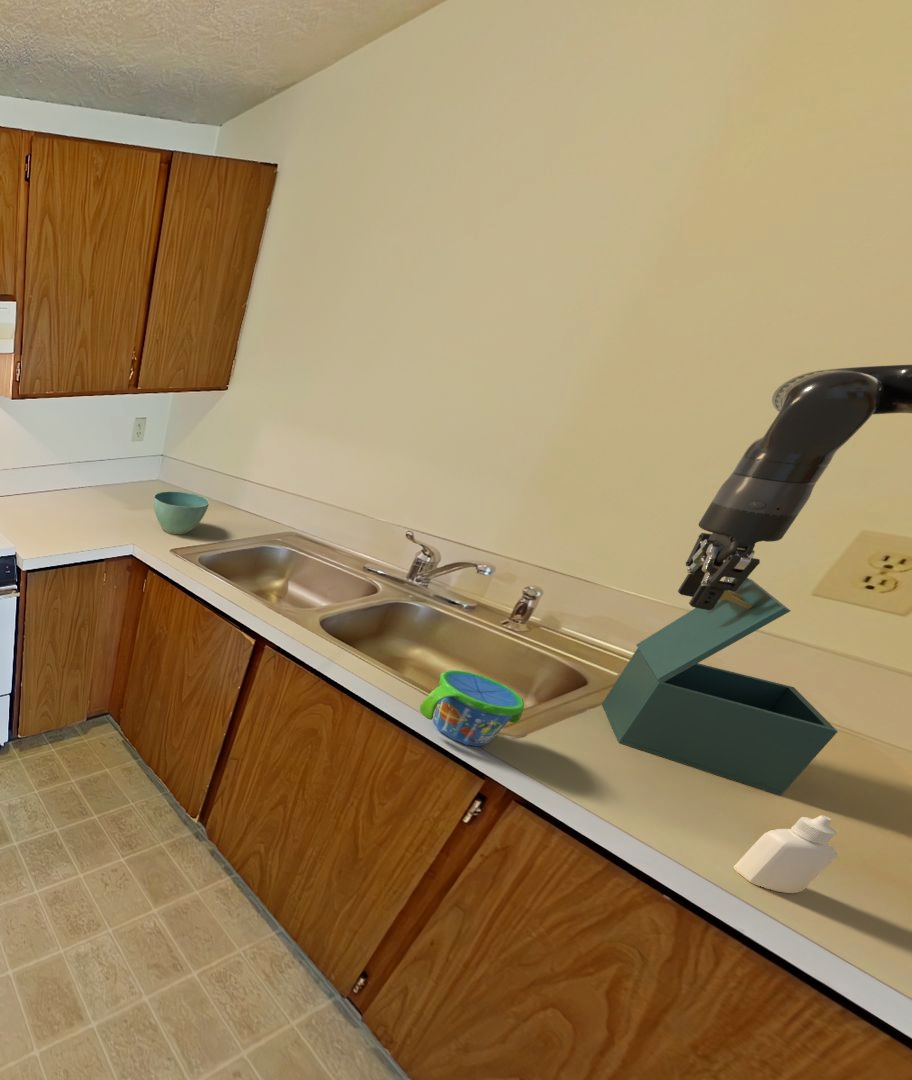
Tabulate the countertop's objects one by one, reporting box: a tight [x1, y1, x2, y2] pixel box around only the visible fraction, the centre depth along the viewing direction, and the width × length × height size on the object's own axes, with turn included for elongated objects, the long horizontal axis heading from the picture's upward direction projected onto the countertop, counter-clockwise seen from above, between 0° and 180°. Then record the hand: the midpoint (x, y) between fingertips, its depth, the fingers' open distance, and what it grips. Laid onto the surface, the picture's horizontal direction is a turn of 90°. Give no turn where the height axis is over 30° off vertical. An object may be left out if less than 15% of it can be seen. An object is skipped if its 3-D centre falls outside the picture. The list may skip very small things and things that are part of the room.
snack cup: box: [419, 669, 525, 747], centre depth 90 cm, size 16×10×10 cm
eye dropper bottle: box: [733, 814, 838, 894], centre depth 65 cm, size 4×6×12 cm
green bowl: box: [153, 490, 210, 535], centre depth 182 cm, size 18×18×12 cm
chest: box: [601, 647, 839, 797], centre depth 87 cm, size 17×14×13 cm
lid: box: [635, 577, 792, 682], centre depth 85 cm, size 18×14×5 cm
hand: (693, 600), depth 84 cm, fingers closed on lid, 5 cm apart
